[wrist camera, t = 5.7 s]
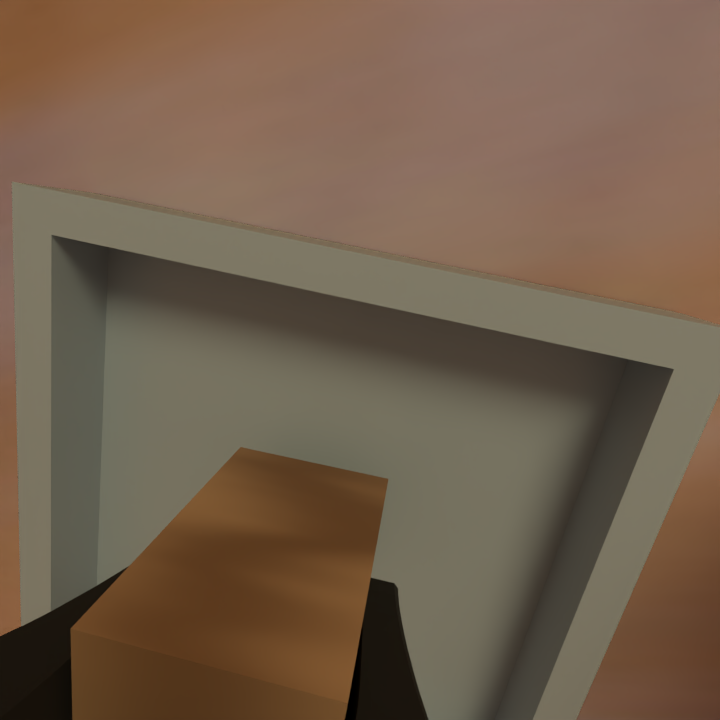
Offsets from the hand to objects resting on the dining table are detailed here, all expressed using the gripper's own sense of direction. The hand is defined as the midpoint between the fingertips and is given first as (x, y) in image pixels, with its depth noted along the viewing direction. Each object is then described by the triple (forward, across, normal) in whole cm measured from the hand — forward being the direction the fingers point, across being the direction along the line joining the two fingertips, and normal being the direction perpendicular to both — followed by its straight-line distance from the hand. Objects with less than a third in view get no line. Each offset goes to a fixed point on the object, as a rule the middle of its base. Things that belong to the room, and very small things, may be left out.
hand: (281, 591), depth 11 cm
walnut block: (+2, 0, 0) cm, 2 cm away
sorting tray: (+4, 0, 0) cm, 4 cm away
